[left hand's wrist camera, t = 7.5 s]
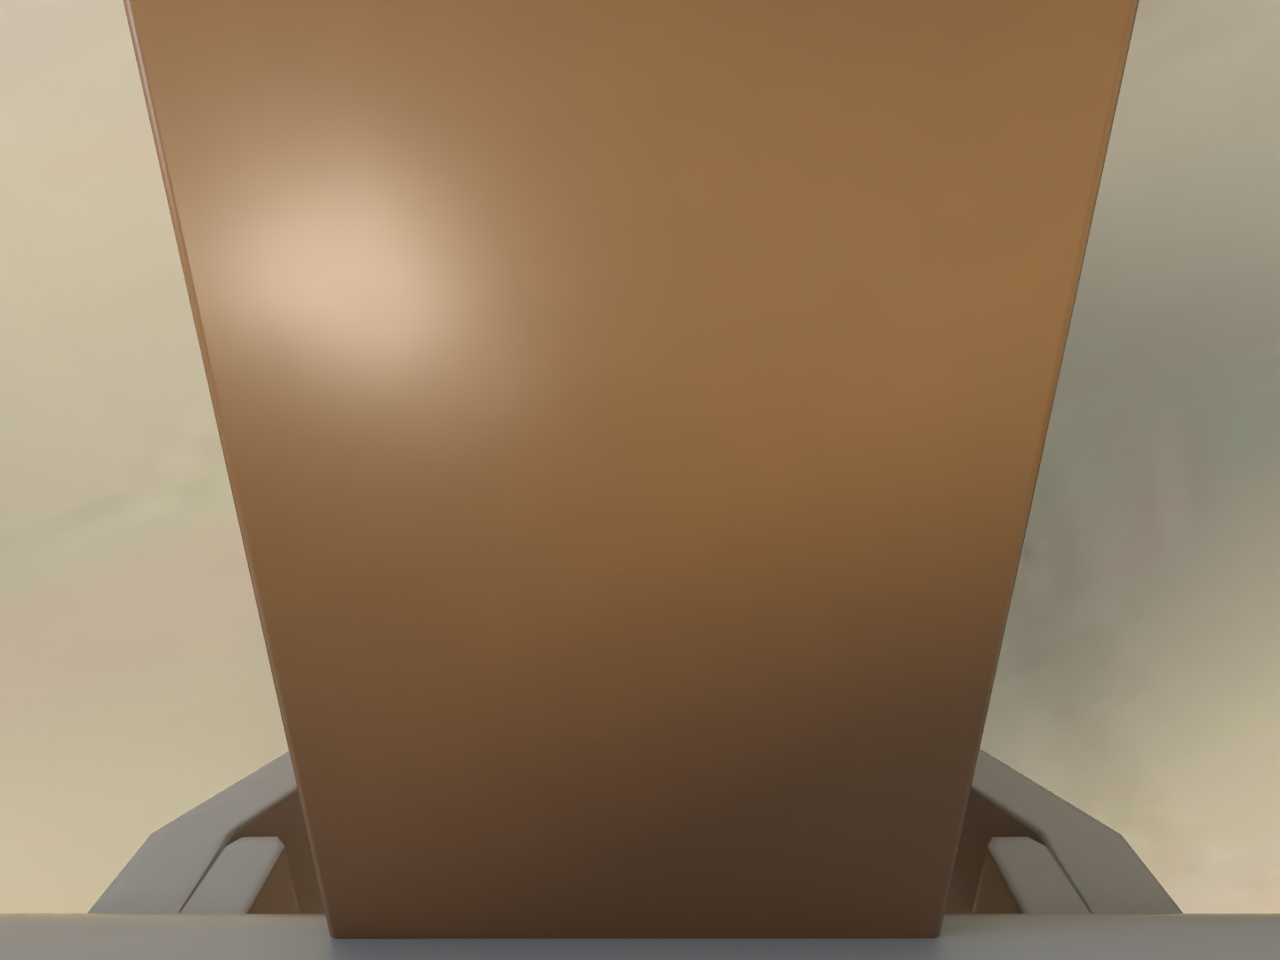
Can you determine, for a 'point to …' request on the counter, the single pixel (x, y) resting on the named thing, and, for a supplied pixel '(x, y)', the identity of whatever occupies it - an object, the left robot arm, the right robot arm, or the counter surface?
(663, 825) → the bar
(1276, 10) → the counter surface
